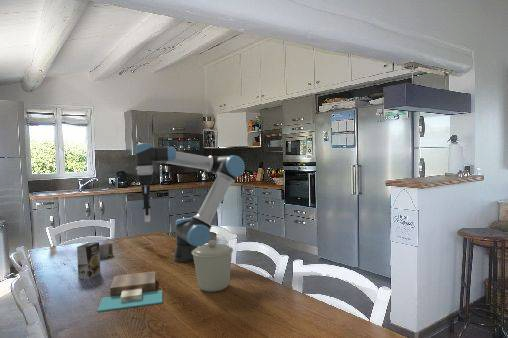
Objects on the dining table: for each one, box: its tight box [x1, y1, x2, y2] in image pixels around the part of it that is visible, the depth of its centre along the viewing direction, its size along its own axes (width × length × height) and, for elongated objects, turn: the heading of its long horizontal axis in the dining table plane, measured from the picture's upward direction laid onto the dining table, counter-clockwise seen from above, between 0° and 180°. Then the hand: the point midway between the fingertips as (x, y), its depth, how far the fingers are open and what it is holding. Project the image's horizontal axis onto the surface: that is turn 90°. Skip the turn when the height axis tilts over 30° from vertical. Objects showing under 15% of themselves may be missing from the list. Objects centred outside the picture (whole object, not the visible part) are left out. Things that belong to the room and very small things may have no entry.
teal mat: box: [96, 289, 163, 313], centre depth 143 cm, size 24×13×1 cm, turn 105°
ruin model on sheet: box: [99, 242, 114, 259], centre depth 210 cm, size 11×3×10 cm, turn 131°
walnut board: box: [109, 271, 157, 297], centre depth 158 cm, size 18×16×4 cm
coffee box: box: [76, 241, 101, 280], centre depth 176 cm, size 9×6×16 cm
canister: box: [192, 239, 234, 293], centre depth 154 cm, size 18×18×21 cm
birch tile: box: [121, 288, 142, 302], centre depth 146 cm, size 8×8×2 cm
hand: (147, 221), depth 176 cm, fingers closed
